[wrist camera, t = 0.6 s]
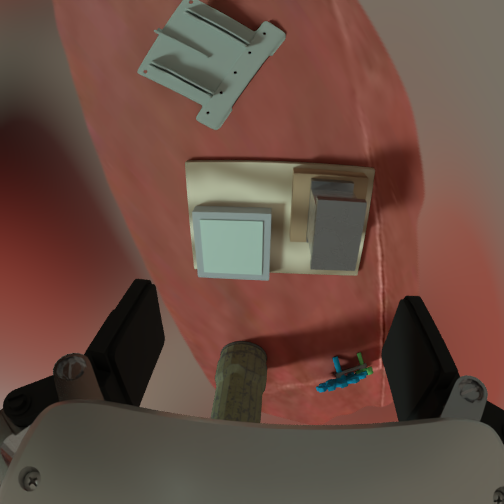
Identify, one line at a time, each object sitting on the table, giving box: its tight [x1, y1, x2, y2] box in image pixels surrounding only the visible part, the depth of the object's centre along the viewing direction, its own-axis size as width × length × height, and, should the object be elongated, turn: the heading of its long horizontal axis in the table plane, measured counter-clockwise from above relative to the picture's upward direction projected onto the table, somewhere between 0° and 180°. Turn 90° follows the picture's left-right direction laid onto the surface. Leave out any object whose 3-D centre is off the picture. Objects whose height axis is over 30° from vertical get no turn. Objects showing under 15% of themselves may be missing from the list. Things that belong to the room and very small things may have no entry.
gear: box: [316, 352, 373, 392], centre depth 54 cm, size 11×6×10 cm
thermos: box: [211, 341, 267, 423], centre depth 42 cm, size 9×12×35 cm
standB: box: [192, 206, 272, 280], centre depth 43 cm, size 10×10×2 cm
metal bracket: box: [138, 0, 286, 130], centre depth 32 cm, size 14×6×15 cm
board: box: [185, 160, 375, 275], centre depth 42 cm, size 16×24×1 cm, turn 90°
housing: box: [306, 178, 367, 271], centre depth 35 cm, size 8×5×7 cm, turn 0°
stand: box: [289, 168, 369, 242], centre depth 39 cm, size 9×9×2 cm
